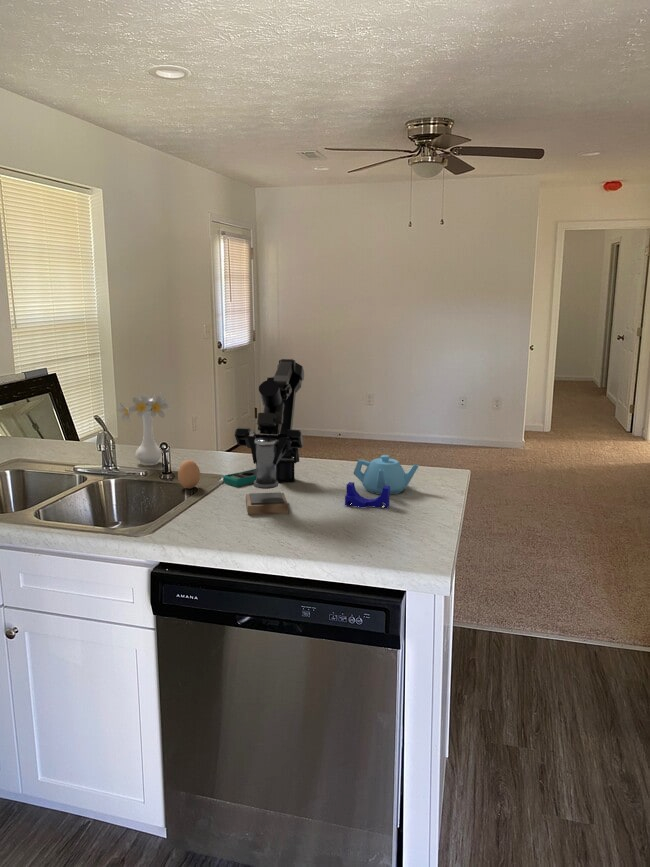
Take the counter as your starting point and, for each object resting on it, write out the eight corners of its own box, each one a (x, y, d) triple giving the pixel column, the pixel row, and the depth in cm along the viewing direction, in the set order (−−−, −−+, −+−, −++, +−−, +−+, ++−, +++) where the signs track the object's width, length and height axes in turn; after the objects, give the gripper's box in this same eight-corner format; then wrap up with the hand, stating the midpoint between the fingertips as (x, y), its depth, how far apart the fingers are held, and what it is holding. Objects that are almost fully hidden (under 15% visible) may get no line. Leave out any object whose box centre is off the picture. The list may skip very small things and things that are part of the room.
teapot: (388, 479, 219) (389, 447, 216) (419, 491, 206) (420, 457, 204) (350, 486, 210) (351, 453, 208) (380, 499, 198) (381, 463, 196)
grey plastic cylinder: (271, 480, 192) (271, 436, 189) (282, 486, 186) (282, 441, 183) (249, 483, 188) (249, 438, 185) (260, 490, 183) (260, 443, 180)
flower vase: (114, 466, 230) (111, 394, 225) (156, 456, 245) (153, 388, 239) (140, 472, 223) (136, 398, 217) (181, 461, 237) (179, 392, 232)
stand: (283, 501, 195) (283, 491, 194) (287, 513, 184) (287, 502, 183) (245, 502, 193) (245, 492, 192) (247, 514, 182) (247, 504, 182)
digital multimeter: (272, 479, 218) (272, 471, 217) (236, 488, 208) (236, 479, 207) (258, 475, 223) (258, 467, 223) (222, 483, 213) (221, 474, 212)
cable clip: (344, 506, 191) (345, 486, 190) (348, 501, 195) (349, 482, 194) (386, 510, 188) (386, 490, 187) (389, 506, 192) (389, 485, 191)
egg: (176, 486, 208) (175, 458, 206) (198, 484, 210) (197, 456, 209) (180, 492, 202) (179, 463, 200) (202, 490, 204) (201, 461, 202)
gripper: (235, 399, 187) (226, 447, 179) (301, 401, 185) (294, 449, 177) (242, 421, 196) (233, 467, 188) (305, 423, 194) (299, 470, 186)
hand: (264, 463), depth 184 cm, fingers closed on grey plastic cylinder, 6 cm apart
